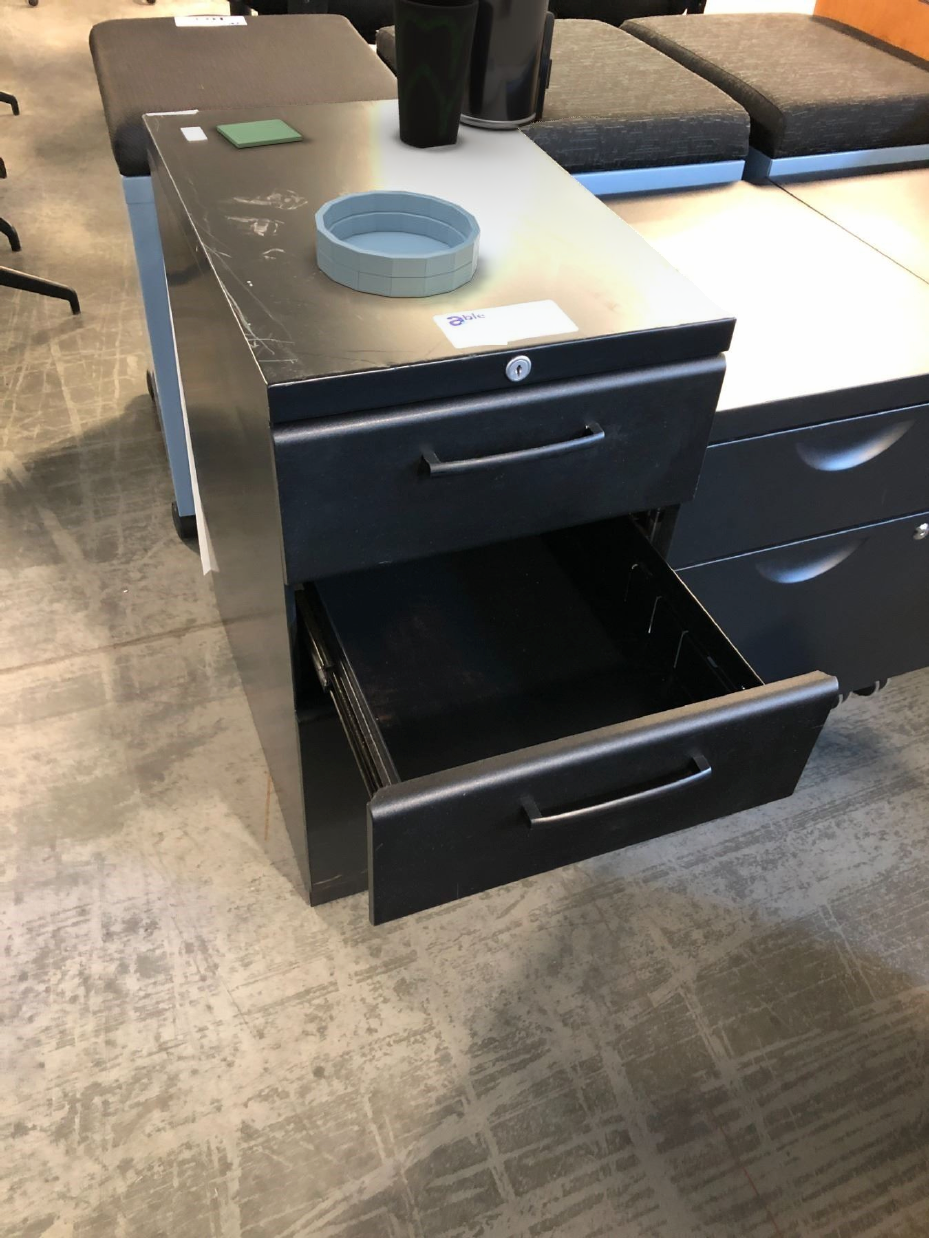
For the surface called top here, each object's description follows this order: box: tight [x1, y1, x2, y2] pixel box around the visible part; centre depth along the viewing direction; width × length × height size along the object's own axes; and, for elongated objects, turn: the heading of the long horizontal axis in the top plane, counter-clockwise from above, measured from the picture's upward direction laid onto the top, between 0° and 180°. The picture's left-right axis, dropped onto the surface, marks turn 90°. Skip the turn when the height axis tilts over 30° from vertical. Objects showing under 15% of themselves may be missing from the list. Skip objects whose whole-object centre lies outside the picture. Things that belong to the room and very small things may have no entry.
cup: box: [392, 0, 479, 149], centre depth 90 cm, size 8×8×12 cm
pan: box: [314, 189, 481, 298], centre depth 72 cm, size 12×12×4 cm
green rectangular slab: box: [216, 118, 303, 149], centre depth 91 cm, size 6×5×1 cm
